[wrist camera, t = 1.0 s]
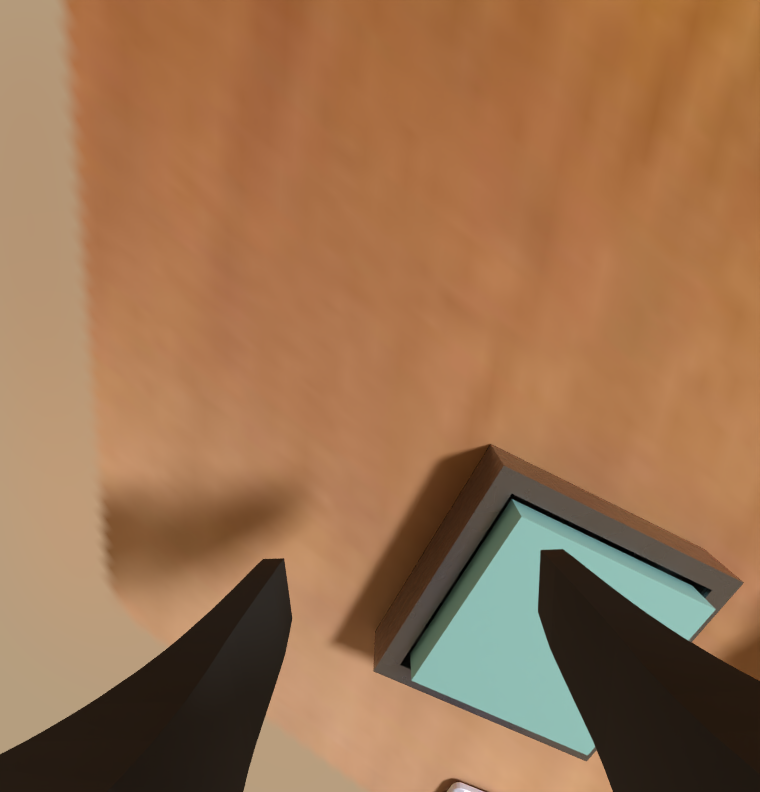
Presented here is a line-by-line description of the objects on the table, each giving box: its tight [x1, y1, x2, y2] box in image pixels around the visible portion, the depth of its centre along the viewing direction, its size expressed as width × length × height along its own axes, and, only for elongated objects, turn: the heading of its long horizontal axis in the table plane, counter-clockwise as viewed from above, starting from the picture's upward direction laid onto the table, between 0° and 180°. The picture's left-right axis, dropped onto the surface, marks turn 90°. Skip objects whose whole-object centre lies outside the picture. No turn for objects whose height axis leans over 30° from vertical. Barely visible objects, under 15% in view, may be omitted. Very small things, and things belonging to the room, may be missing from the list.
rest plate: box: [410, 499, 716, 755], centre depth 20 cm, size 10×10×2 cm
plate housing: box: [373, 444, 744, 761], centre depth 21 cm, size 13×13×2 cm
